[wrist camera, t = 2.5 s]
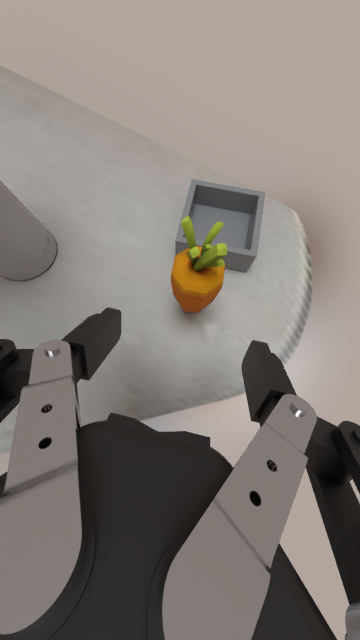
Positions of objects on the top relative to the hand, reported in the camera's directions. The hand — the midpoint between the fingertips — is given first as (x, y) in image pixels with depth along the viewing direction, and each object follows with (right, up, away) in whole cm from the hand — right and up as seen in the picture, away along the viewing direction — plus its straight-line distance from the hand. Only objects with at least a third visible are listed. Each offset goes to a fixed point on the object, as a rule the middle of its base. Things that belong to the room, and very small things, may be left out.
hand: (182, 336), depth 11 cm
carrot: (+1, +3, +15) cm, 15 cm away
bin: (+6, +14, +18) cm, 24 cm away
